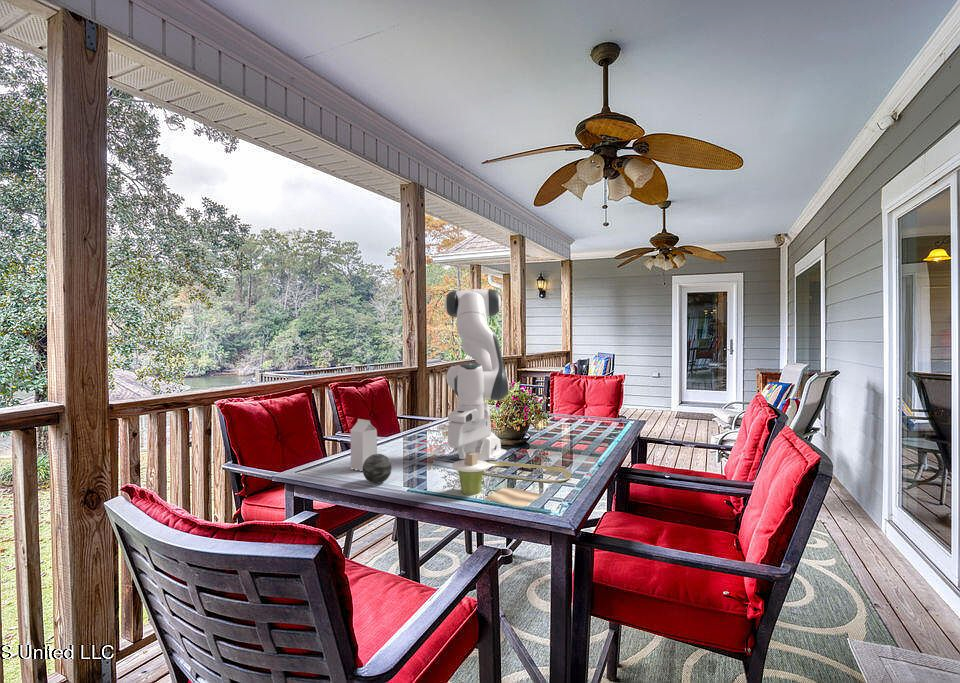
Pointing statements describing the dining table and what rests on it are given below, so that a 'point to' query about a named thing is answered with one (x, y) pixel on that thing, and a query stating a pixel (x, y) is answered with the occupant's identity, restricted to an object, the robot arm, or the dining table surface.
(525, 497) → the mat
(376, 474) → the decorative stone
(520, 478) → the oval gold ring
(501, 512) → the dining table surface
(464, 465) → the lid
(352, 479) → the dining table surface
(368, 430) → the milk carton
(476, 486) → the plant pot
